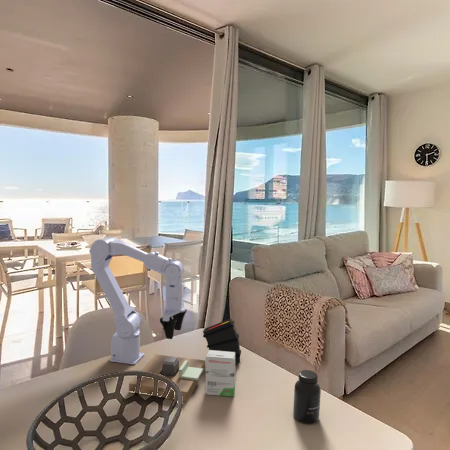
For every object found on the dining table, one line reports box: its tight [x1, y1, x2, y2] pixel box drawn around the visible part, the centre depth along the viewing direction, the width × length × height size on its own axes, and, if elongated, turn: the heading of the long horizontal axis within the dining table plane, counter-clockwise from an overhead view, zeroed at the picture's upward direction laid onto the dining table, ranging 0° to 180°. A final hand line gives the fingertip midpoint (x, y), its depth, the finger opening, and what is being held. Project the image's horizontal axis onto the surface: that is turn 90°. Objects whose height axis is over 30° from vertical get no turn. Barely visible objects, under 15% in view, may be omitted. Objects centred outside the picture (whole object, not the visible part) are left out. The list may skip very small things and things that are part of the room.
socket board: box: [128, 353, 206, 403], centre depth 110 cm, size 18×19×3 cm
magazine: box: [202, 318, 242, 364], centre depth 123 cm, size 4×13×15 cm, turn 81°
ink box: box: [205, 349, 236, 398], centre depth 104 cm, size 9×5×12 cm, turn 82°
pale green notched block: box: [179, 360, 203, 380], centre depth 108 cm, size 6×6×3 cm
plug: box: [162, 355, 179, 377], centre depth 110 cm, size 4×4×7 cm
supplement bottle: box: [292, 369, 322, 425], centre depth 93 cm, size 7×7×12 cm
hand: (173, 334), depth 122 cm, fingers open, 7 cm apart
